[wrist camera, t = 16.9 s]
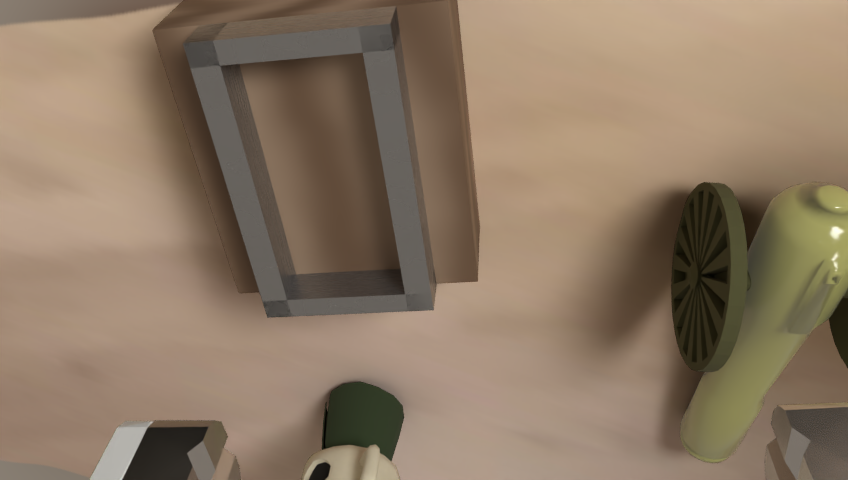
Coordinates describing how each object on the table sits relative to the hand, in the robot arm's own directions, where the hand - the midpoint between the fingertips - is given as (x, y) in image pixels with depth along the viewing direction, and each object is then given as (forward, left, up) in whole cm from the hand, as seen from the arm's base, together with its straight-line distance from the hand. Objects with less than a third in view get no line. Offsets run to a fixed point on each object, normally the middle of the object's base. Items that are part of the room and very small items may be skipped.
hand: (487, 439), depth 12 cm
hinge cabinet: (+10, +11, -35) cm, 38 cm away
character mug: (+13, +36, -35) cm, 52 cm away
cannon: (-15, +27, -36) cm, 47 cm away
